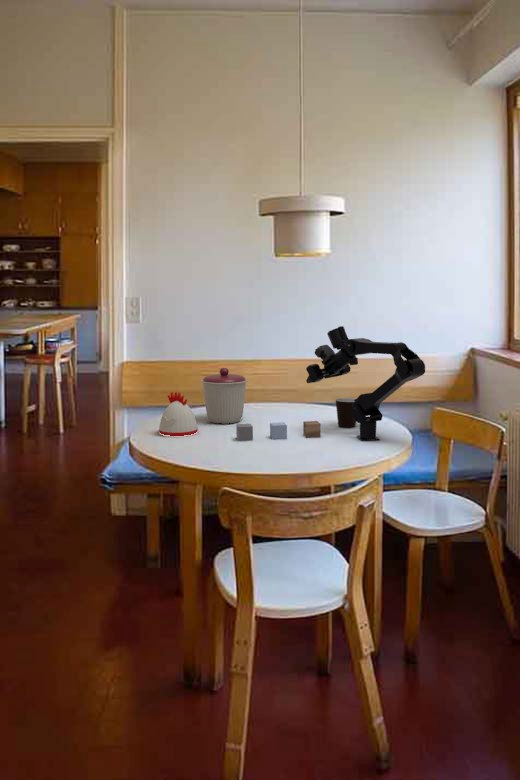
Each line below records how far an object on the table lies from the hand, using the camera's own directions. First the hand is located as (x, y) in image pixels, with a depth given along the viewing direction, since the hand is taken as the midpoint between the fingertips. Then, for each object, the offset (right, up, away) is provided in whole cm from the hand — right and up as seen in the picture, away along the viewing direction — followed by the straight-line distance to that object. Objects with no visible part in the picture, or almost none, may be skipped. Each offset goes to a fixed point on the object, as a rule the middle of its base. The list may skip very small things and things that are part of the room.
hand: (315, 379), depth 274 cm
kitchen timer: (-50, -20, -6) cm, 54 cm away
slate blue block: (-14, -21, -15) cm, 29 cm away
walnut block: (-2, -20, -13) cm, 24 cm away
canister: (-34, -16, +14) cm, 40 cm away
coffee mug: (+13, -17, +4) cm, 22 cm away
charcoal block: (-26, -21, -17) cm, 38 cm away
